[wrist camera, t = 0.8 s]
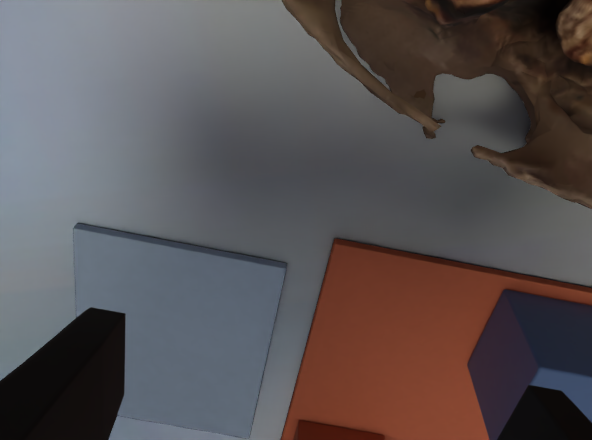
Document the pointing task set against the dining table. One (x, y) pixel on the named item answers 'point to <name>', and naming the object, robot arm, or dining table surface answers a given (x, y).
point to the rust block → (331, 433)
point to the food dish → (478, 69)
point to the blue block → (532, 355)
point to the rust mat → (402, 343)
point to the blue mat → (183, 325)
